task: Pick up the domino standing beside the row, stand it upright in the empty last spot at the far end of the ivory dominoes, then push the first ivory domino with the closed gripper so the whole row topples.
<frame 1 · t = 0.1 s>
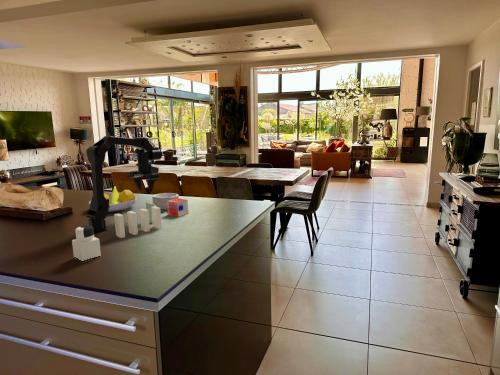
hand: (145, 190, 181), 15 cm above the table, tool pointing down, fingers open, 9 cm apart
fruit bowl: (115, 209, 204), on the table
paper bowls: (166, 208, 204), on the table
white block with post: (87, 257, 129), on the table
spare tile: (151, 221, 175), on the table
tile 1: (120, 236, 153), on the table
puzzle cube: (178, 214, 189), on the table
tile 3: (145, 230, 161), on the table
tile 4: (157, 227, 165), on the table
tile 2: (133, 233, 157), on the table
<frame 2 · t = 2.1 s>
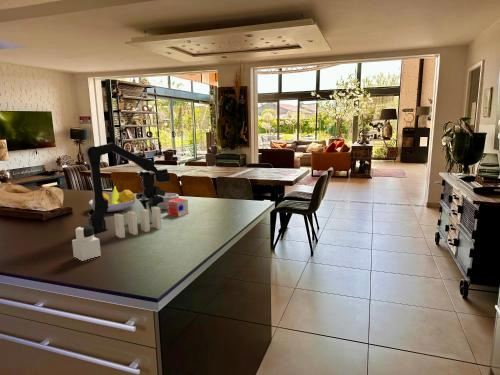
hand: (150, 214, 174), 4 cm above the table, tool pointing down, fingers closed on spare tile, 5 cm apart
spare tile: (151, 221, 175), on the table, touching gripper
everything else where it was.
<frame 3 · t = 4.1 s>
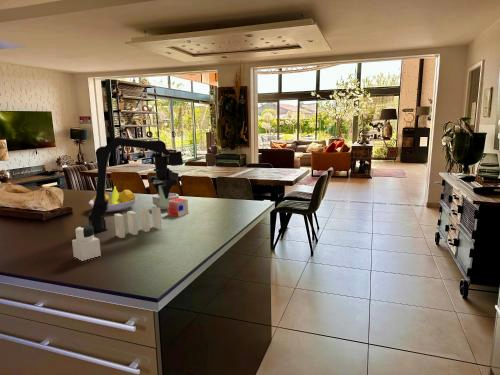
hand: (163, 198, 168), 13 cm above the table, tool pointing down, fingers closed on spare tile, 5 cm apart
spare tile: (164, 205, 169), point 9 cm above the table, touching gripper
everything else where it was.
when the fingers open (5 cm above the table, at t = 6.2 s): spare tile stays where it is, on the table.
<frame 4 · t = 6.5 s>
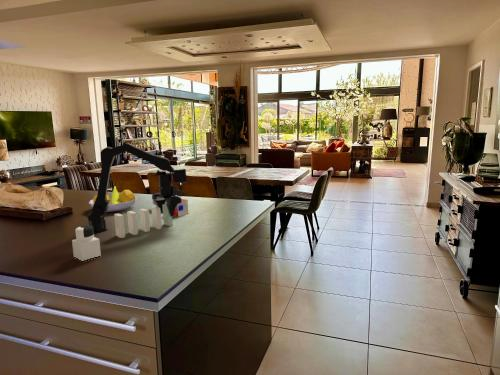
hand: (167, 215, 168), 5 cm above the table, tool pointing down, fingers open, 8 cm apart
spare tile: (168, 224, 169), on the table
everything else where it was.
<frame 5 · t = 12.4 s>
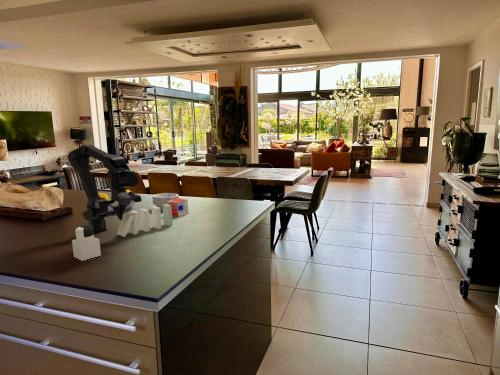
hand: (120, 219, 152), 8 cm above the table, tool pointing down, fingers closed
tile 1: (120, 235, 153), on the table, tilted 30°
tile 2: (133, 233, 157), on the table, tilted 7°
everything else where it was.
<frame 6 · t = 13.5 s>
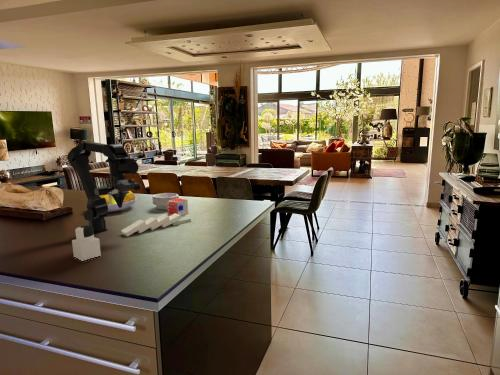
hand: (120, 207, 151), 13 cm above the table, tool pointing down, fingers closed
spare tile: (171, 223, 170), on the table, tilted 90°
tile 1: (124, 233, 154), point 1 cm above the table, tilted 71°, touching tile 2
tile 3: (149, 227, 162), point 1 cm above the table, tilted 70°, touching tile 2, tile 4
tile 4: (160, 224, 166), point 1 cm above the table, tilted 74°, touching tile 3
tile 2: (136, 230, 158), point 1 cm above the table, tilted 71°, touching tile 1, tile 3
everything else where it was.
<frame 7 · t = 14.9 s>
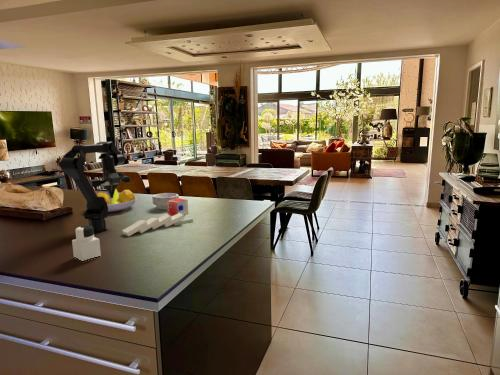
hand: (111, 198, 171), 13 cm above the table, tool pointing down, fingers closed
tile 1: (125, 233, 154), point 1 cm above the table, tilted 71°, touching tile 2
tile 3: (151, 226, 163), point 1 cm above the table, tilted 71°, touching tile 2, tile 4
tile 4: (163, 224, 167), point 1 cm above the table, tilted 74°, touching tile 3
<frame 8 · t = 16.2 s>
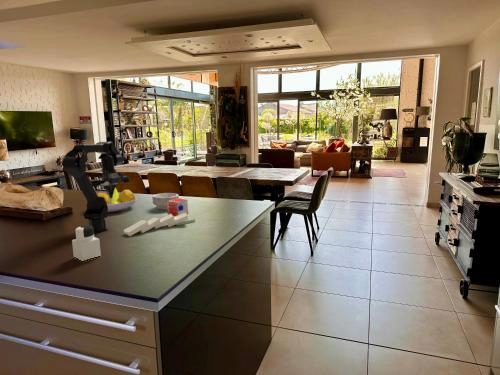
hand: (111, 198, 172), 13 cm above the table, tool pointing down, fingers closed
tile 1: (126, 233, 154), point 1 cm above the table, tilted 72°, touching tile 2
tile 3: (153, 225, 164), point 1 cm above the table, tilted 72°, touching tile 2
tile 4: (167, 223, 167), point 1 cm above the table, tilted 73°
at the end: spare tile tilted 90°; tile 4 tilted 72°; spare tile inside the target area (2.5 cm from its centre), on the table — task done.
